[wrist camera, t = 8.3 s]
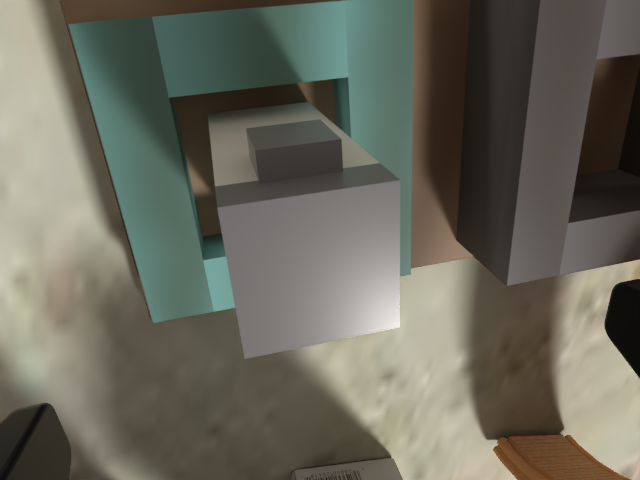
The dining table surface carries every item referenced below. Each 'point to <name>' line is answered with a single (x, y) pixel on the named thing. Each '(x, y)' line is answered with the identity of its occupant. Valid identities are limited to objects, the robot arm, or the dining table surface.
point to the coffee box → (352, 471)
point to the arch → (550, 459)
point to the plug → (304, 228)
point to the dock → (377, 123)
